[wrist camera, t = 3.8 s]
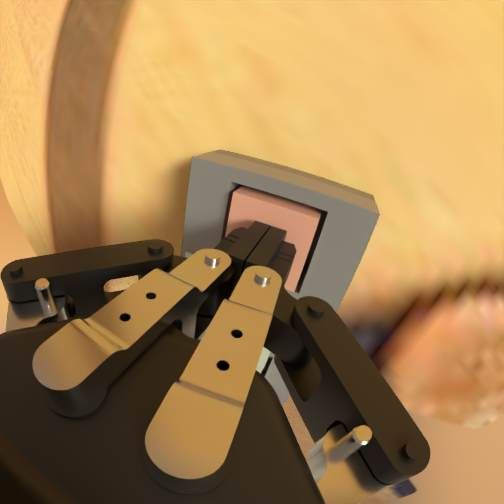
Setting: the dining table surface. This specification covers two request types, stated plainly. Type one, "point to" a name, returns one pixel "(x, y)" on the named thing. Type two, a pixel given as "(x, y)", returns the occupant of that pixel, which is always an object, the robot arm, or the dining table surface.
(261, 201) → the key coral
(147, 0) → the dining table surface
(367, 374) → the robot arm
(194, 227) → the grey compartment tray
